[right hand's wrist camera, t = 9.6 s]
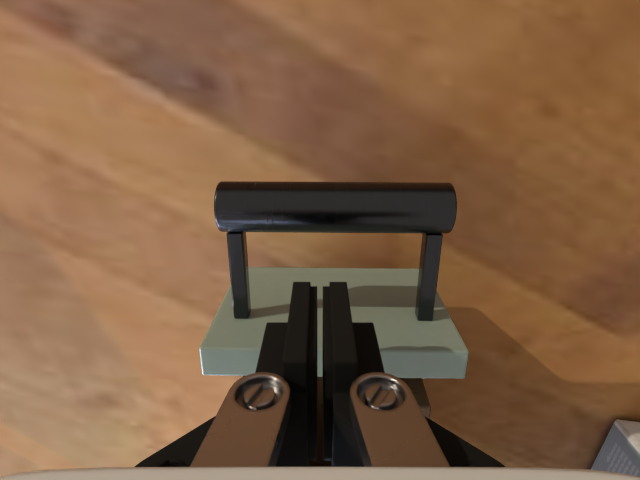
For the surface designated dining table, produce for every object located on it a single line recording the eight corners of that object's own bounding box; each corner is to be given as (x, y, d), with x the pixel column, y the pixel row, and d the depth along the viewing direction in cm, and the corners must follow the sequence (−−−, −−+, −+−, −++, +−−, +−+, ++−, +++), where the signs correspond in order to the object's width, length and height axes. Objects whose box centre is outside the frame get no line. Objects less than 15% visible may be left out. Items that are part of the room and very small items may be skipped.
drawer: (231, 159, 19) (179, 197, 12) (436, 160, 18) (494, 199, 12) (256, 485, 26) (232, 616, 20) (402, 488, 26) (427, 621, 19)
